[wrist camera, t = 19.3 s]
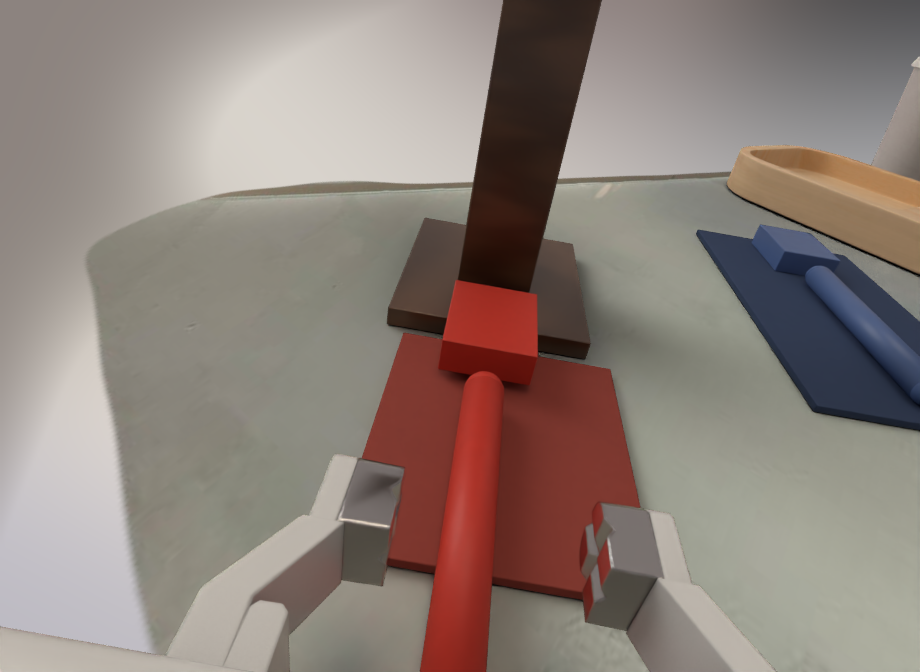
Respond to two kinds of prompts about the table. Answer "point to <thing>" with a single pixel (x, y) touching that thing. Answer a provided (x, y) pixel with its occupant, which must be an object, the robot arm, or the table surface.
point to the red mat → (506, 463)
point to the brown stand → (514, 183)
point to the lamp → (835, 198)
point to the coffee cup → (903, 133)
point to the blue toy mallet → (840, 300)
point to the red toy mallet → (475, 466)
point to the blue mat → (820, 334)
